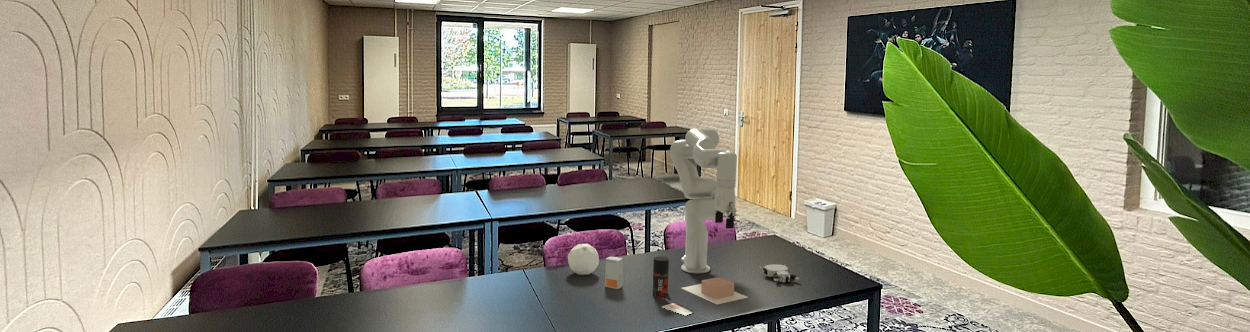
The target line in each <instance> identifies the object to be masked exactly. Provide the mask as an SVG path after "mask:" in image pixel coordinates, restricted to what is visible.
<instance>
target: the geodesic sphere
mask: <svg viewBox="0 0 1250 332" xmlns="http://www.w3.org/2000/svg"><path fill="white" fill-rule="evenodd" d="M567 262H568V266H569V268H570V270H571V271H572V272H574V273H575V274H577V275H579V276H585V275H591V273H593V272H595V271H596V268H597V267H598V266H599V264H600V259H599V253H598V251H597V249H596V248H595V247H594V246H592V245H590V244H589V243H579V244H576V245H575V246H574V247H573V248H572V249H571V250H570V251H569V253H568V255H567Z"/></svg>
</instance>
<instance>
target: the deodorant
mask: <svg viewBox="0 0 1250 332" xmlns="http://www.w3.org/2000/svg"><path fill="white" fill-rule="evenodd" d="M669 261H670V258H669V257H666V256H655V257H654V258H653V264H652V265H653V271H652V297H653V298H656V299H665V298H667V297H665V296H667V295H668V294H669V267H670V264H669V263H670V262H669Z"/></svg>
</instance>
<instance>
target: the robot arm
mask: <svg viewBox="0 0 1250 332" xmlns="http://www.w3.org/2000/svg"><path fill="white" fill-rule="evenodd" d="M684 138H685V139H679V140H675V141H673V142H672V143H671V146H670V149H669V150H670V151H669V152H670V158H671V161H672V165H673V166H674V168H675V170H676V172H677V174H678V177H679V181H680V185H681V186H680V187H681V189H682V192H683V196H684V197H685V198H686V199H689V200H687V201H686V203H685V204H684V217H685V252H684V256H683V257H681V259H680V260H681V261H682V262H683V264H682V265H681V267H680V268H681V270H682V271H683V272H685V273H690V274H705V273H709V272H710V271H711V267H710V266H709V265H708V264H707V263H708V262H707V261H708V259H707V258H708V243H709V241H708V239H709V238H708V237H709V232H708V231H709V230H708V227H707V226H706V225H705V223H704V221H714V223H716V224H721V223H723V222H724V216H725V215H726V219H725V228H726V229H734V226H735V217H736V214H737V208H736V189H735V188H736V186H737V185H736V184H737V183H736V182H737V162H738V155H737V153H735V152H732V151H731V150H730V149H728V148H717V147H718V145H719V143H720V135H719V133H718V131H717V130H716V129H714V128H709V127H708V128H707V127H706V128H691V129H690V130H688V131H687V132H686V134H685V137H684ZM689 159H693V160H694V163H695V164H697V165H698V166H700V167H701V168H705V169H713V168H716V179H715V178H713V177H710V176H707V177H705V176H704V177H703V176H702V177H701V176H699V172H698V170H697V167H696V166H695V165H694V163H692V162H691V161H690V160H689Z"/></svg>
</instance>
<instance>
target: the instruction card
mask: <svg viewBox="0 0 1250 332" xmlns="http://www.w3.org/2000/svg"><path fill="white" fill-rule="evenodd" d="M661 307H662V309H664V308H665V309H664V310H667V311H669V310H671V311H670V312H672V311H673V313H675V312H676V313H675V314H677V313H679V314H678V315H680V314H682V315H681V316H683V315H684V316H683V317H687V315H688V316H690V315H689V314H691V315H693V314H696V313H695V312H696V311H694V310H693V309H689V308H688V307H686V306H684V305H682V304H680V303H678V302H676V301H675V302H672V303H669V304H665V305H662V306H661ZM692 313H693V314H692Z"/></svg>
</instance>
